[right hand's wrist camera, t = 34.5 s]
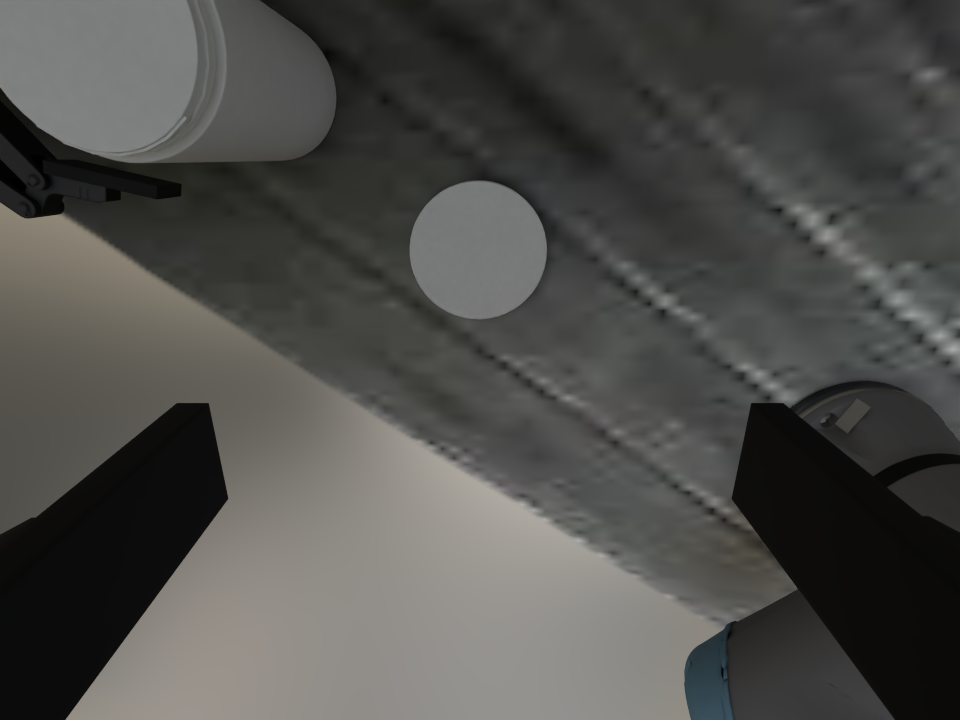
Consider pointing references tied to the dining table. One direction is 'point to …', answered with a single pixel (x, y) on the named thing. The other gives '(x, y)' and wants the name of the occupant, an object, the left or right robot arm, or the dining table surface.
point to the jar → (167, 78)
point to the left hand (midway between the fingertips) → (172, 70)
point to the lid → (478, 249)
